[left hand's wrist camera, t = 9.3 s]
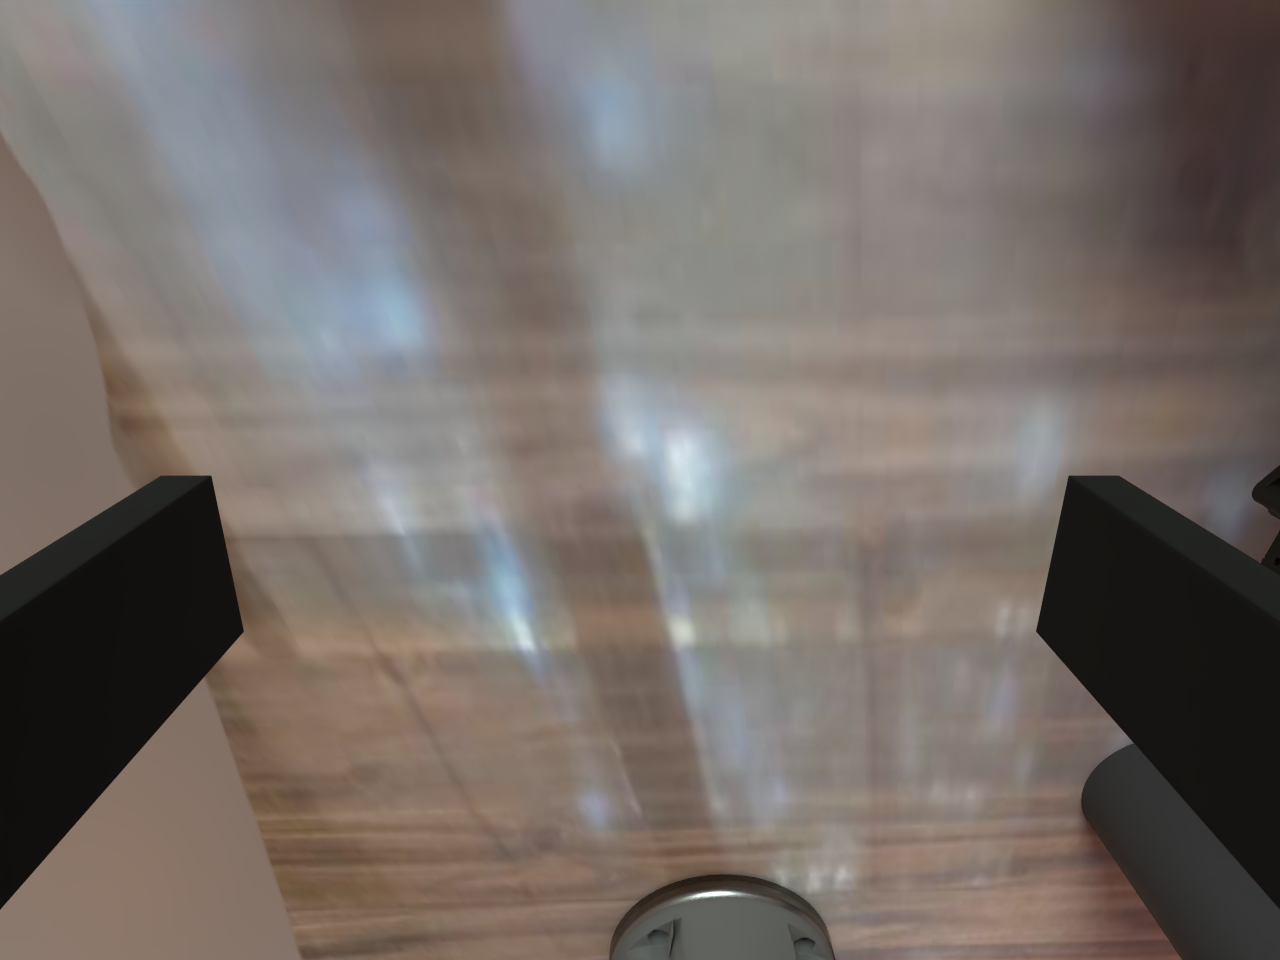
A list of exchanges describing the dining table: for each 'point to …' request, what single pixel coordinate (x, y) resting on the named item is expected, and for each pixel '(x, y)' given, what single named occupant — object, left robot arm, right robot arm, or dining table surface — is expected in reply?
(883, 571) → the dining table surface
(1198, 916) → the jar
